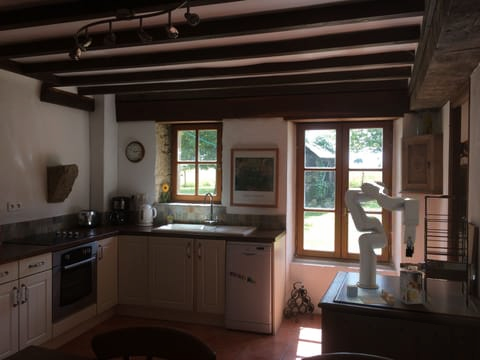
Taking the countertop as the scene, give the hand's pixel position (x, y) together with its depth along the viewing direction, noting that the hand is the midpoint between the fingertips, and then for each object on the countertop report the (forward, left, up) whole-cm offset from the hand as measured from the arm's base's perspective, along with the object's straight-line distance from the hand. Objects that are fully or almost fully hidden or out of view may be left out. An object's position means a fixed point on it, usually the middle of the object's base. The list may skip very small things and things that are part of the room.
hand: (409, 255), depth 195 cm
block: (-9, -27, -25) cm, 38 cm away
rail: (-3, -10, -25) cm, 27 cm away
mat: (-3, -18, -25) cm, 31 cm away
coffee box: (-2, +2, -25) cm, 25 cm away
